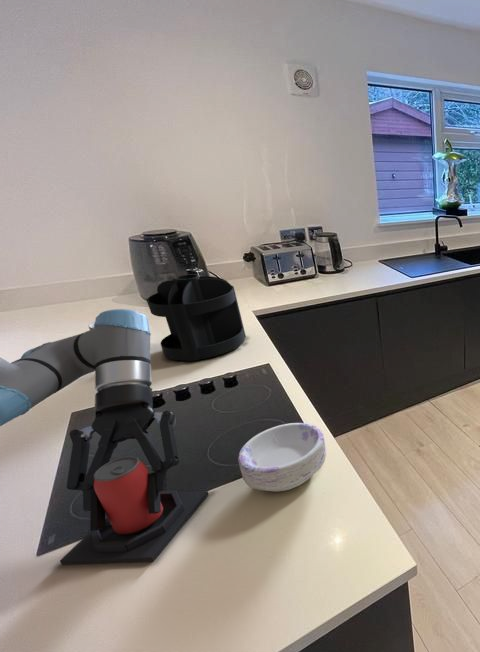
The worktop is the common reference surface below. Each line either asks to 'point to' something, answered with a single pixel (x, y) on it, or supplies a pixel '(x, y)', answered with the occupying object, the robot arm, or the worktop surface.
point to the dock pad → (137, 534)
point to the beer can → (125, 494)
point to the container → (198, 317)
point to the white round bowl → (282, 457)
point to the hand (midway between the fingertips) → (127, 520)
